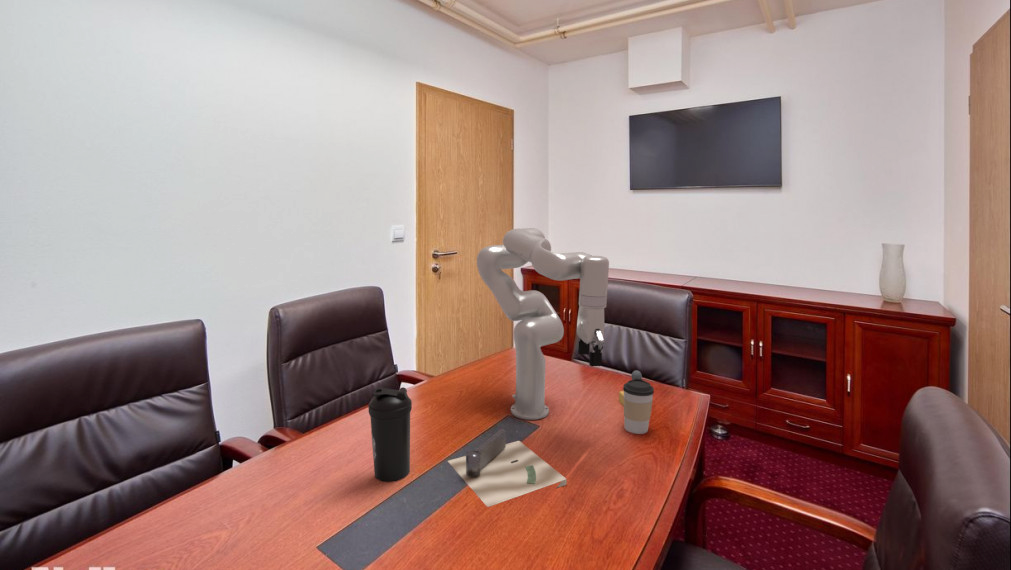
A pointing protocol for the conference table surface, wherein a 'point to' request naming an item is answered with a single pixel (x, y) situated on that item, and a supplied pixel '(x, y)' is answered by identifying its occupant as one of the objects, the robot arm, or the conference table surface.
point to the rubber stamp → (635, 375)
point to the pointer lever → (485, 453)
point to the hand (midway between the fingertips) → (589, 359)
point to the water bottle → (390, 433)
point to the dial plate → (509, 474)
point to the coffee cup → (637, 405)
